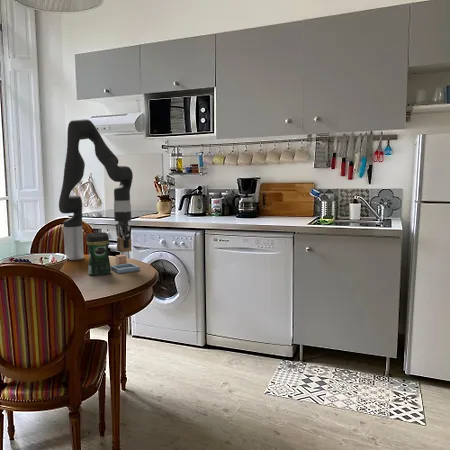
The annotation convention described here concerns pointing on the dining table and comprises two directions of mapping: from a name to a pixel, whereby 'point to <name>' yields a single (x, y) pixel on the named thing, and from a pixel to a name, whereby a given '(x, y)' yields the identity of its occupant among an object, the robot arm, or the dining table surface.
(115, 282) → the dining table surface
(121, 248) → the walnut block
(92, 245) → the coffee jar
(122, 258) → the terracotta cube
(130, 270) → the blue grey tray
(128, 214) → the robot arm
